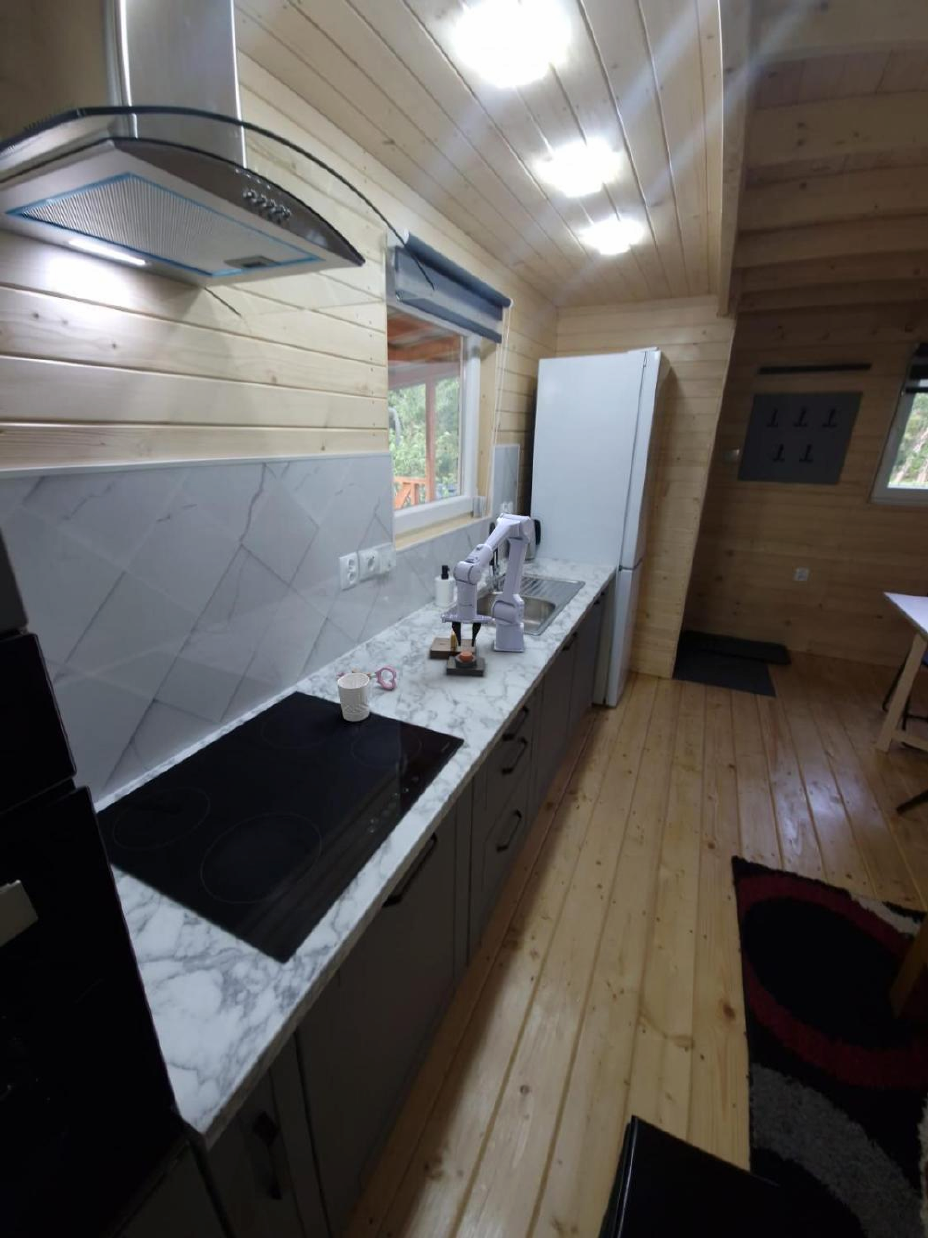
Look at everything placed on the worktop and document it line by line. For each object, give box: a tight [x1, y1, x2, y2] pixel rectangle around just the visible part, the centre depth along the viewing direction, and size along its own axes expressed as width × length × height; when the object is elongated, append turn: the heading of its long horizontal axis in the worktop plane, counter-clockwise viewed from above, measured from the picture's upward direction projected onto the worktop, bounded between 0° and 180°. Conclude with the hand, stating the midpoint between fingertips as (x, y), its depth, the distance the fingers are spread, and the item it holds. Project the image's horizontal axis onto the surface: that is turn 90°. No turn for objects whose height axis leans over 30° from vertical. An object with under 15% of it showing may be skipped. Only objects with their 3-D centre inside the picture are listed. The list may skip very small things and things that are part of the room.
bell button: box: [460, 651, 472, 661], centre depth 150 cm, size 4×4×2 cm
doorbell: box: [446, 654, 486, 677], centre depth 151 cm, size 11×8×4 cm
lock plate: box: [429, 636, 477, 660], centre depth 161 cm, size 14×10×3 cm
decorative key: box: [335, 665, 397, 690], centre depth 142 cm, size 7×1×20 cm
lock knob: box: [450, 629, 457, 647], centre depth 160 cm, size 5×2×4 cm, turn 175°
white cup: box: [336, 672, 371, 722], centre depth 126 cm, size 8×8×10 cm
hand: (466, 645), depth 148 cm, fingers open, 3 cm apart
